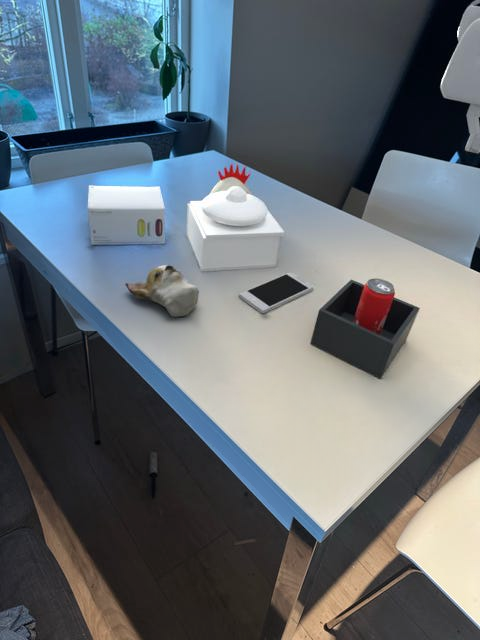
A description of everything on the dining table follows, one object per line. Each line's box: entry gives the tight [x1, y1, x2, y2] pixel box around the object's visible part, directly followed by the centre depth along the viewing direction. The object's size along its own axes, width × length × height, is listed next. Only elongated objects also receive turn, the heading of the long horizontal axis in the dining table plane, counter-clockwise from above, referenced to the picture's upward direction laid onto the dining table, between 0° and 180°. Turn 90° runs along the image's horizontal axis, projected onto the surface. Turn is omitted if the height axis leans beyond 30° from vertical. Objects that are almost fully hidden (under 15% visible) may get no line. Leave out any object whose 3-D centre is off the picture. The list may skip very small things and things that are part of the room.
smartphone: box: [239, 271, 315, 314], centre depth 93 cm, size 7×16×1 cm, turn 132°
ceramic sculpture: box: [124, 264, 200, 318], centre depth 85 cm, size 11×9×15 cm
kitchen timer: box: [209, 163, 253, 195], centre depth 115 cm, size 14×14×15 cm
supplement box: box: [87, 184, 166, 246], centre depth 106 cm, size 17×13×9 cm
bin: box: [310, 279, 421, 380], centre depth 81 cm, size 14×14×8 cm
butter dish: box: [186, 187, 285, 272], centre depth 102 cm, size 18×18×16 cm
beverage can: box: [353, 277, 396, 335], centre depth 79 cm, size 5×5×12 cm
